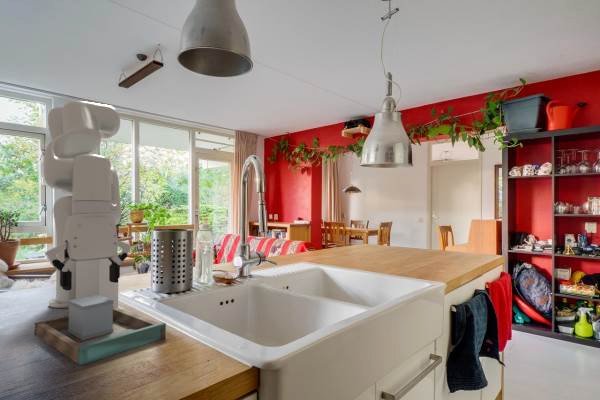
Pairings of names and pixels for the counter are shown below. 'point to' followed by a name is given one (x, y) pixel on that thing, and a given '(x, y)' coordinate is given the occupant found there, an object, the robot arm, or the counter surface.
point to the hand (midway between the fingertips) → (91, 285)
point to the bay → (105, 345)
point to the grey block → (90, 316)
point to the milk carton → (95, 280)
